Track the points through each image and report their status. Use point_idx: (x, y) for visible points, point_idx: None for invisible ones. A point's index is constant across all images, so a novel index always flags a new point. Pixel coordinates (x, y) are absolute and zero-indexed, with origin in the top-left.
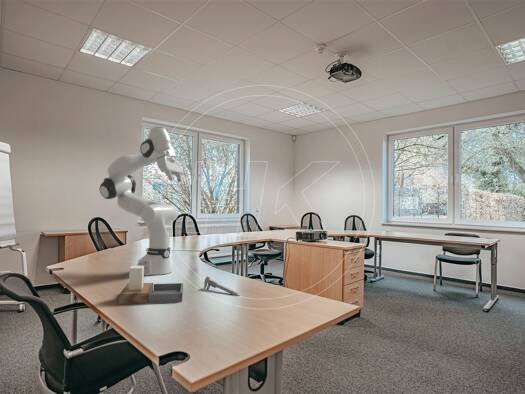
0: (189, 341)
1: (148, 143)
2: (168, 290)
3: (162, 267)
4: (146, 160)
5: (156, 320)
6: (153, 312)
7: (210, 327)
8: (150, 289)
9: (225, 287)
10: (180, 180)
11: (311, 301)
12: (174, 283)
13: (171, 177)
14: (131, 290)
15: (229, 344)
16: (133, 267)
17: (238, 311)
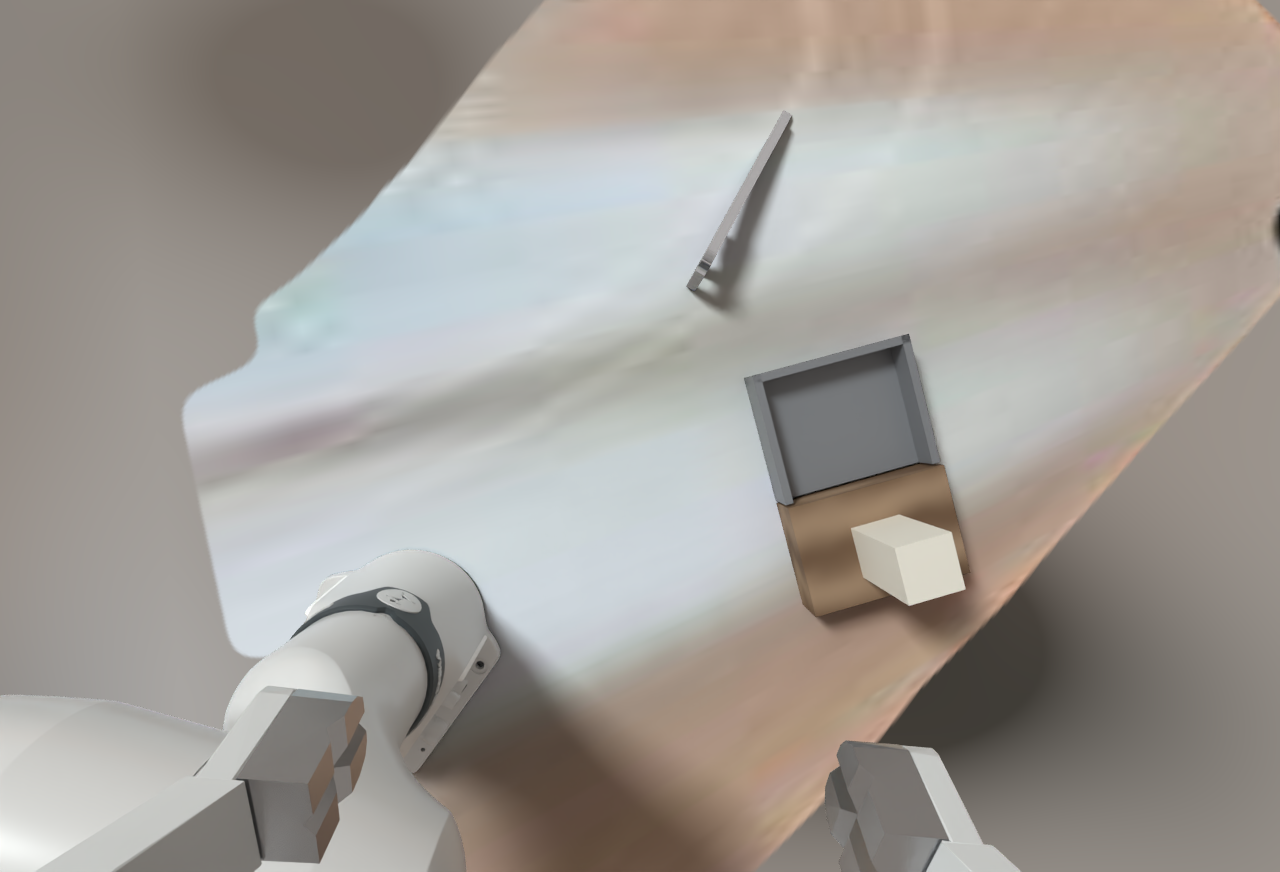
0: (1220, 216)
1: None
2: (779, 433)
3: (451, 591)
4: None
5: (1084, 365)
6: (1016, 403)
7: (1123, 175)
8: (881, 481)
9: (754, 171)
10: (348, 707)
11: None
12: (765, 414)
13: (959, 828)
14: None
15: (1230, 99)
16: (943, 580)
17: (975, 98)
